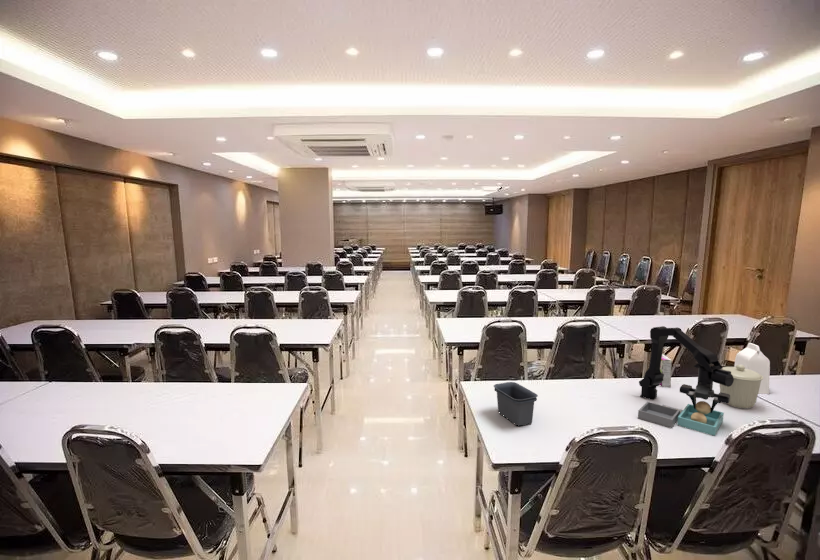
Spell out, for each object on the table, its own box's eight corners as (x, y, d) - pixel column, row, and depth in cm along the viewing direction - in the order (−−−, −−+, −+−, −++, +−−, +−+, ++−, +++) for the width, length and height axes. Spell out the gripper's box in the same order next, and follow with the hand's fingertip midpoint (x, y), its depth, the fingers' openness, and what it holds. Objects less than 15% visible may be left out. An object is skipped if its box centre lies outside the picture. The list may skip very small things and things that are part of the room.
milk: (731, 385, 230) (735, 341, 227) (753, 385, 229) (757, 341, 225) (745, 393, 218) (749, 347, 215) (769, 394, 217) (773, 347, 214)
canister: (708, 396, 216) (711, 358, 213) (746, 398, 212) (749, 360, 209) (727, 410, 198) (730, 369, 196) (769, 413, 194) (773, 371, 192)
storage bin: (490, 411, 201) (490, 384, 199) (516, 406, 206) (516, 379, 205) (516, 430, 181) (516, 400, 180) (543, 424, 187) (544, 395, 185)
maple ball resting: (688, 425, 183) (689, 413, 182) (691, 421, 187) (692, 408, 186) (704, 430, 179) (705, 417, 178) (707, 425, 183) (708, 412, 182)
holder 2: (677, 425, 184) (677, 417, 184) (687, 411, 198) (688, 403, 197) (714, 436, 174) (715, 427, 174) (723, 420, 188) (723, 412, 187)
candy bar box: (653, 380, 239) (655, 353, 237) (662, 380, 238) (664, 354, 236) (661, 387, 228) (662, 359, 227) (670, 387, 227) (672, 360, 226)
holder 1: (637, 418, 191) (638, 410, 191) (646, 409, 201) (647, 401, 200) (671, 428, 181) (672, 419, 181) (679, 418, 191) (680, 410, 190)
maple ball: (691, 410, 192) (692, 399, 191) (704, 410, 192) (705, 398, 191) (700, 416, 186) (701, 404, 185) (713, 416, 186) (714, 404, 185)
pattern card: (659, 409, 200) (659, 408, 200) (662, 405, 205) (662, 404, 205) (680, 415, 194) (680, 413, 194) (683, 411, 198) (683, 409, 198)
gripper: (677, 378, 188) (675, 409, 190) (727, 389, 174) (724, 423, 176) (683, 372, 195) (681, 402, 197) (731, 382, 182) (729, 414, 184)
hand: (703, 410), depth 188 cm, fingers closed on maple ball, 6 cm apart
